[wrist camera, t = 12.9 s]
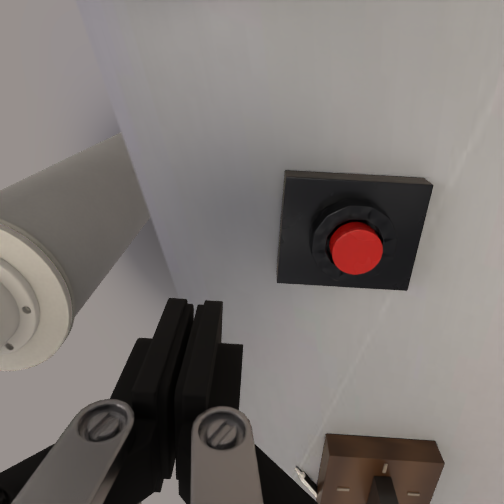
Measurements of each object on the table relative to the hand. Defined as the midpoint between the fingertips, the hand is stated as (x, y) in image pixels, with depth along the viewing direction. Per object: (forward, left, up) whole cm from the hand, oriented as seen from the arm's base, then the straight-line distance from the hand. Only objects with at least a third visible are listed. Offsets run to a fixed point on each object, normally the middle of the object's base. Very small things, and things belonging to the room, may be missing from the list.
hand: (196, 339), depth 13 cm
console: (+18, -37, -24) cm, 48 cm away
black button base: (+10, -5, -24) cm, 27 cm away
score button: (+10, -5, -21) cm, 23 cm away
